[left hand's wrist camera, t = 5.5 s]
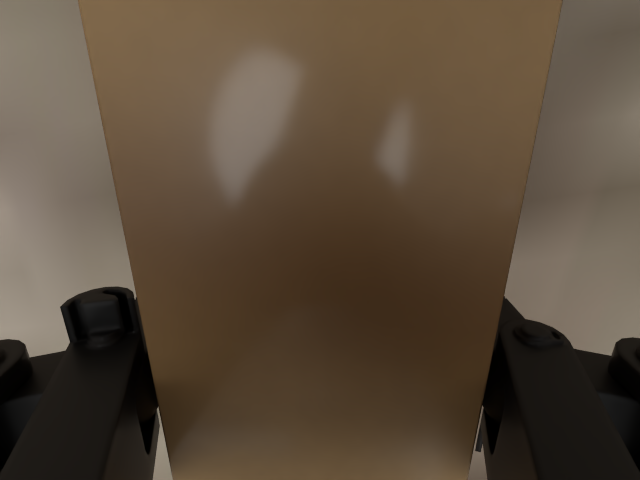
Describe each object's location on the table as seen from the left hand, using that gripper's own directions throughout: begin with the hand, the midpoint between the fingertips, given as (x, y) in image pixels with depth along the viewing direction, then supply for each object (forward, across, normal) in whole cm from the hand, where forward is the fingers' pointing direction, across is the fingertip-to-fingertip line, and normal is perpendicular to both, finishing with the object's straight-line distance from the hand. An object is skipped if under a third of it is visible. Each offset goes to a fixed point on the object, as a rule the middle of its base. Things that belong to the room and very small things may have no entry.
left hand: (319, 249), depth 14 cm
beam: (+1, 0, -19) cm, 19 cm away
